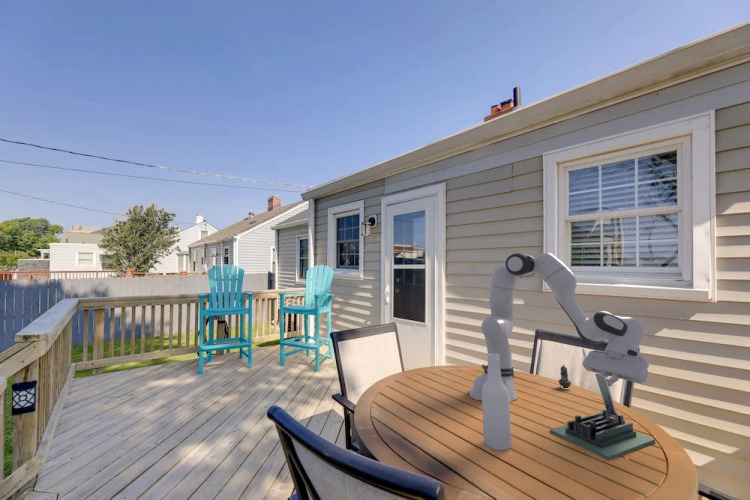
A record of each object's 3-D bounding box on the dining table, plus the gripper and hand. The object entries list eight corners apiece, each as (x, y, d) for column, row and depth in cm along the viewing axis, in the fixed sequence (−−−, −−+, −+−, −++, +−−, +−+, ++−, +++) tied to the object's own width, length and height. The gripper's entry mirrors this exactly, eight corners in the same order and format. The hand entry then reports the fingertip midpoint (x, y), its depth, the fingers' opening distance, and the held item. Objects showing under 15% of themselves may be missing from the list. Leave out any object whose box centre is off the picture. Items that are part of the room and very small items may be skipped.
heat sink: (600, 422, 120) (598, 404, 121) (636, 435, 109) (634, 416, 110) (565, 432, 112) (564, 413, 113) (601, 448, 101) (599, 427, 102)
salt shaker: (573, 390, 158) (572, 366, 159) (561, 390, 159) (559, 365, 161) (569, 387, 164) (567, 363, 165) (556, 386, 165) (555, 363, 166)
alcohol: (500, 454, 100) (496, 358, 103) (478, 443, 107) (474, 353, 110) (517, 447, 104) (512, 355, 108) (494, 436, 112) (490, 350, 115)
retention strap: (608, 416, 116) (609, 414, 116) (617, 419, 113) (618, 417, 113) (594, 374, 115) (596, 373, 115) (603, 376, 112) (605, 375, 113)
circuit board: (594, 419, 125) (594, 416, 125) (655, 442, 107) (654, 439, 107) (550, 432, 114) (549, 429, 114) (609, 460, 96) (608, 456, 96)
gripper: (587, 344, 128) (573, 371, 123) (646, 354, 110) (633, 387, 105) (594, 354, 130) (581, 381, 125) (654, 366, 111) (642, 398, 106)
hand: (605, 384), depth 115 cm, fingers closed
